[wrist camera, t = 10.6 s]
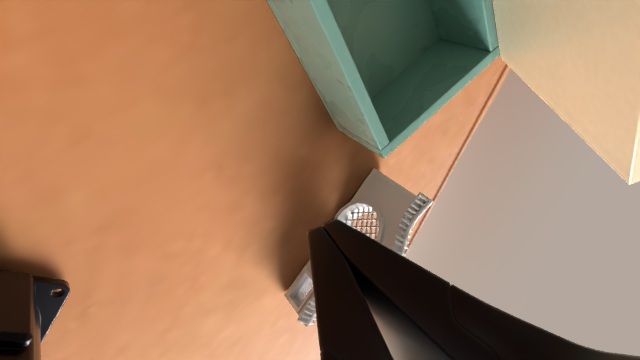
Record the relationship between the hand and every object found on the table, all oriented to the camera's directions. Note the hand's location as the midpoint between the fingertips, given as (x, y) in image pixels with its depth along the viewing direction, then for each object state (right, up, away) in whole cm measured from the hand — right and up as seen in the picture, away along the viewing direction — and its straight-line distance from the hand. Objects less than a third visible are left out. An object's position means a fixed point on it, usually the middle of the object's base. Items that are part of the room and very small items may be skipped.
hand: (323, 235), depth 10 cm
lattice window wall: (+1, -2, +19) cm, 20 cm away
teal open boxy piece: (+2, +11, +12) cm, 17 cm away
